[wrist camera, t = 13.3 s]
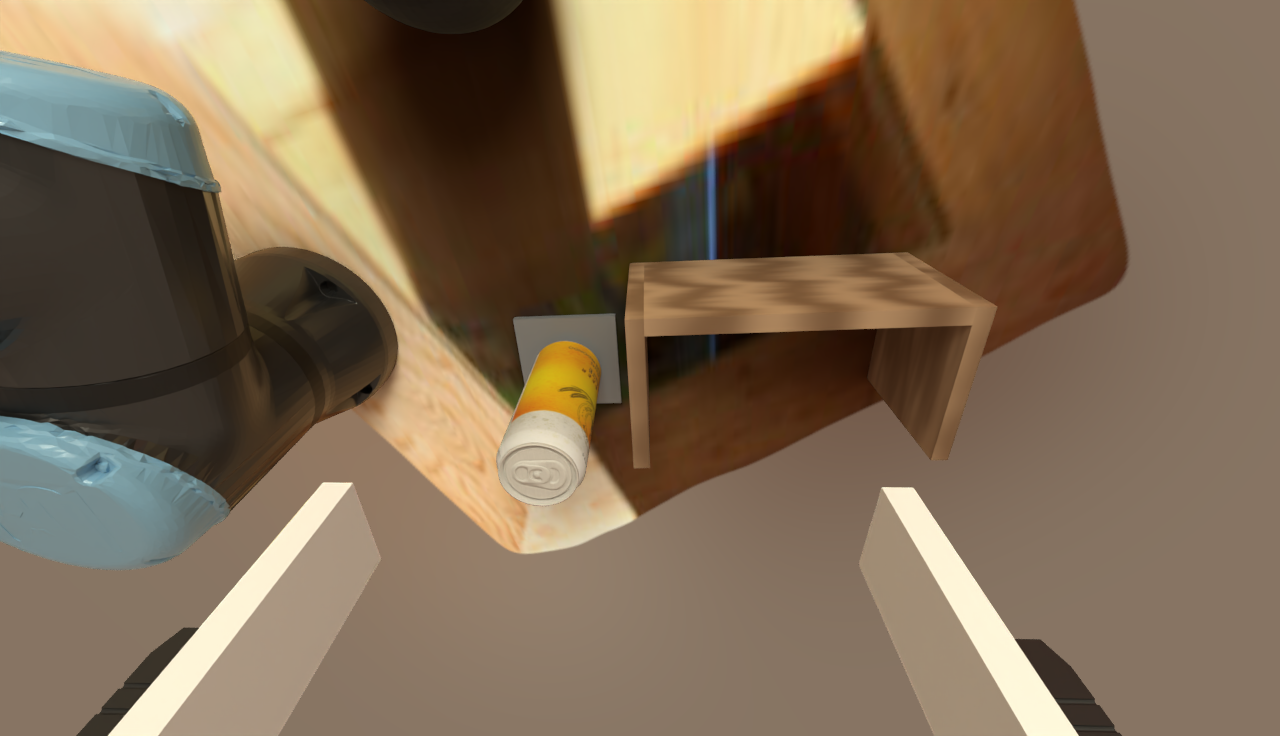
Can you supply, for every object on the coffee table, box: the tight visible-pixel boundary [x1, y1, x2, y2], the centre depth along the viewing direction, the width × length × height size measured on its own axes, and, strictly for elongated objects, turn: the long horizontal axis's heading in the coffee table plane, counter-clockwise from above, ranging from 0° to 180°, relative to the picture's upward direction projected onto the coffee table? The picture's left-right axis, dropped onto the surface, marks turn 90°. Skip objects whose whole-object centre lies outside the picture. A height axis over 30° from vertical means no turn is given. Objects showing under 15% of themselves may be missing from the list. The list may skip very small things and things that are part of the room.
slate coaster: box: [513, 313, 622, 404], centre depth 46 cm, size 9×9×1 cm
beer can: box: [496, 341, 601, 506], centre depth 39 cm, size 6×6×15 cm
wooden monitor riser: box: [625, 252, 997, 468], centre depth 39 cm, size 23×12×12 cm, turn 92°
